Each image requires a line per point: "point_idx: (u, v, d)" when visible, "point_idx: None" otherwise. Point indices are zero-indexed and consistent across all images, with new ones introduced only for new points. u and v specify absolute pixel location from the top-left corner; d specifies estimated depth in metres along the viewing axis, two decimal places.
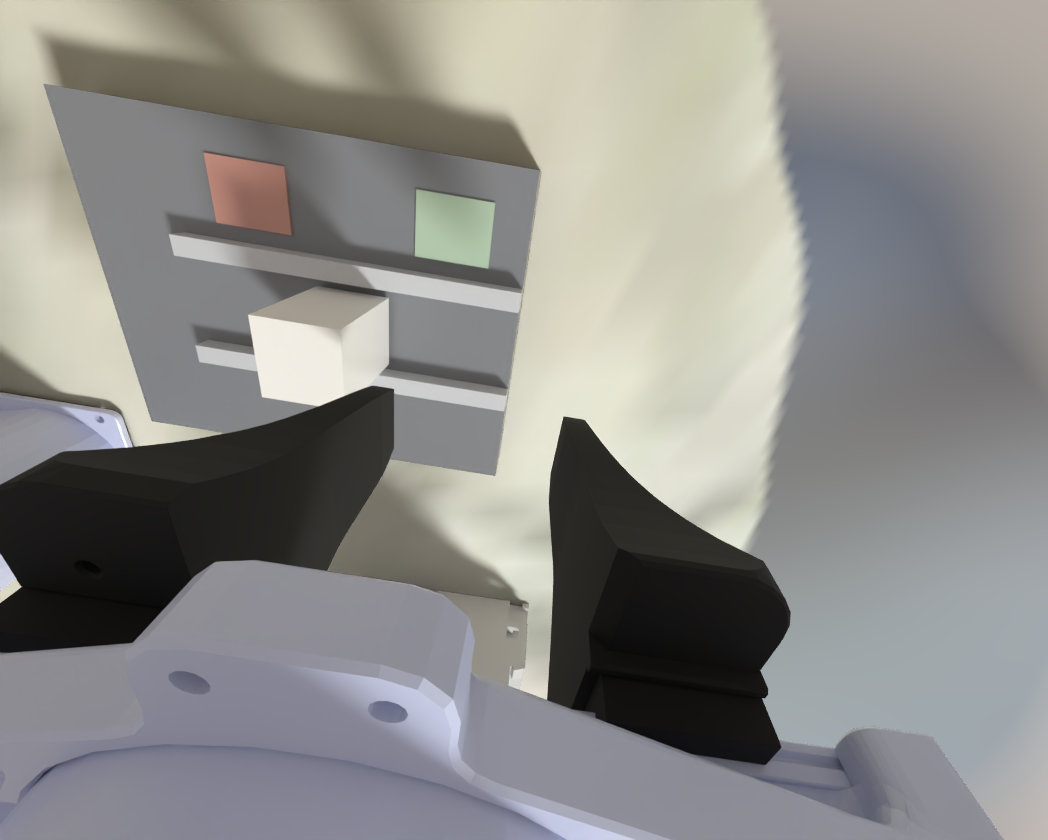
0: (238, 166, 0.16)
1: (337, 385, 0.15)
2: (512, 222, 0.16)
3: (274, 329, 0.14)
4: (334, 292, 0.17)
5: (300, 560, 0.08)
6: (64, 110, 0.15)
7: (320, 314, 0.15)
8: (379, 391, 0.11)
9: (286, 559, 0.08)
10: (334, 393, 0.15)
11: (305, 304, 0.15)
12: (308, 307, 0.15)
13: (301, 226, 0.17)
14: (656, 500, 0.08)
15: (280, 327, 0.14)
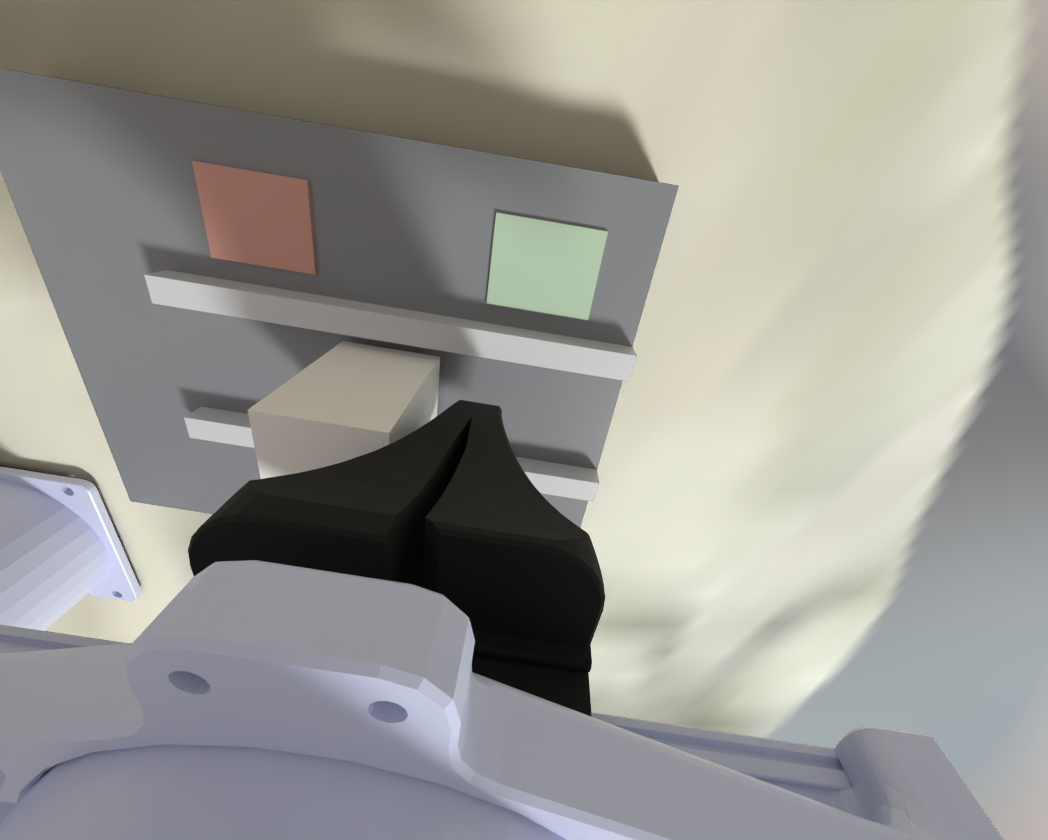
0: (242, 180, 0.11)
1: None
2: (628, 258, 0.12)
3: (287, 429, 0.09)
4: (367, 351, 0.12)
5: None
6: None
7: (354, 399, 0.10)
8: (471, 406, 0.11)
9: (420, 579, 0.08)
10: None
11: (330, 379, 0.11)
12: (335, 386, 0.10)
13: (329, 262, 0.12)
14: (525, 479, 0.08)
15: (297, 427, 0.09)
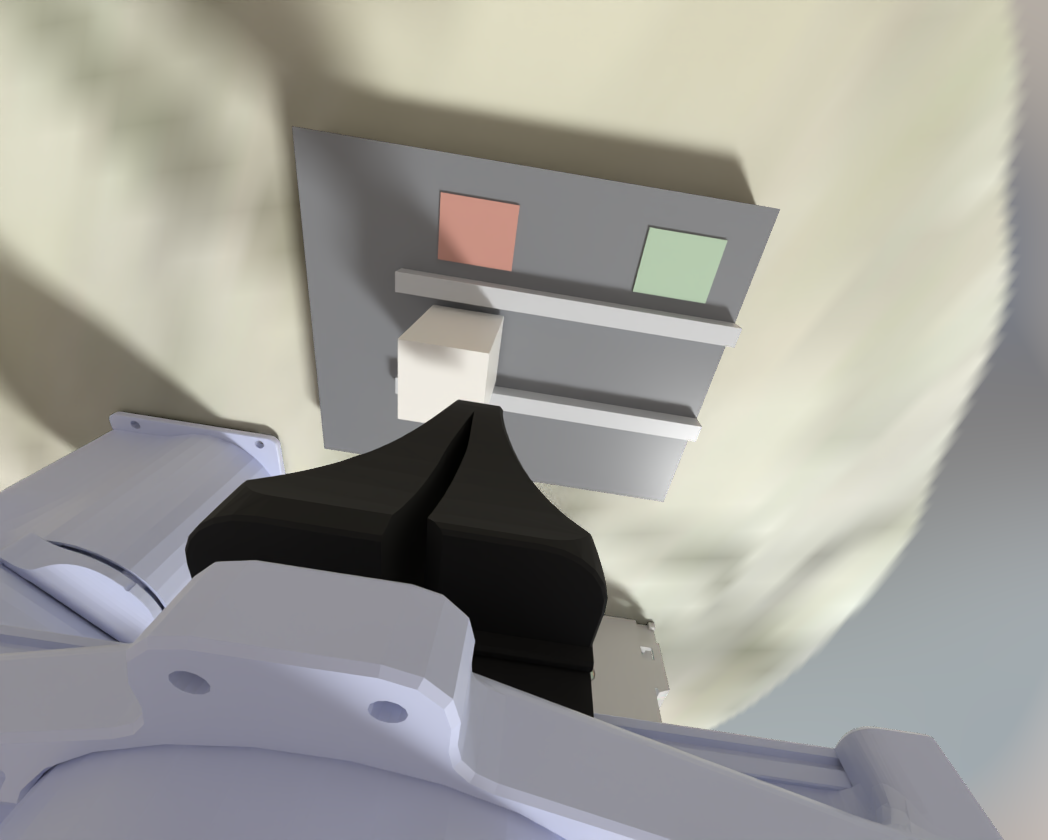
0: (472, 205, 0.16)
1: None
2: (739, 259, 0.16)
3: (422, 353, 0.14)
4: (453, 311, 0.17)
5: (423, 579, 0.08)
6: (307, 151, 0.16)
7: (459, 336, 0.15)
8: (469, 406, 0.11)
9: (418, 579, 0.08)
10: None
11: (438, 325, 0.15)
12: (443, 329, 0.15)
13: (522, 262, 0.17)
14: (527, 479, 0.08)
15: (428, 351, 0.14)
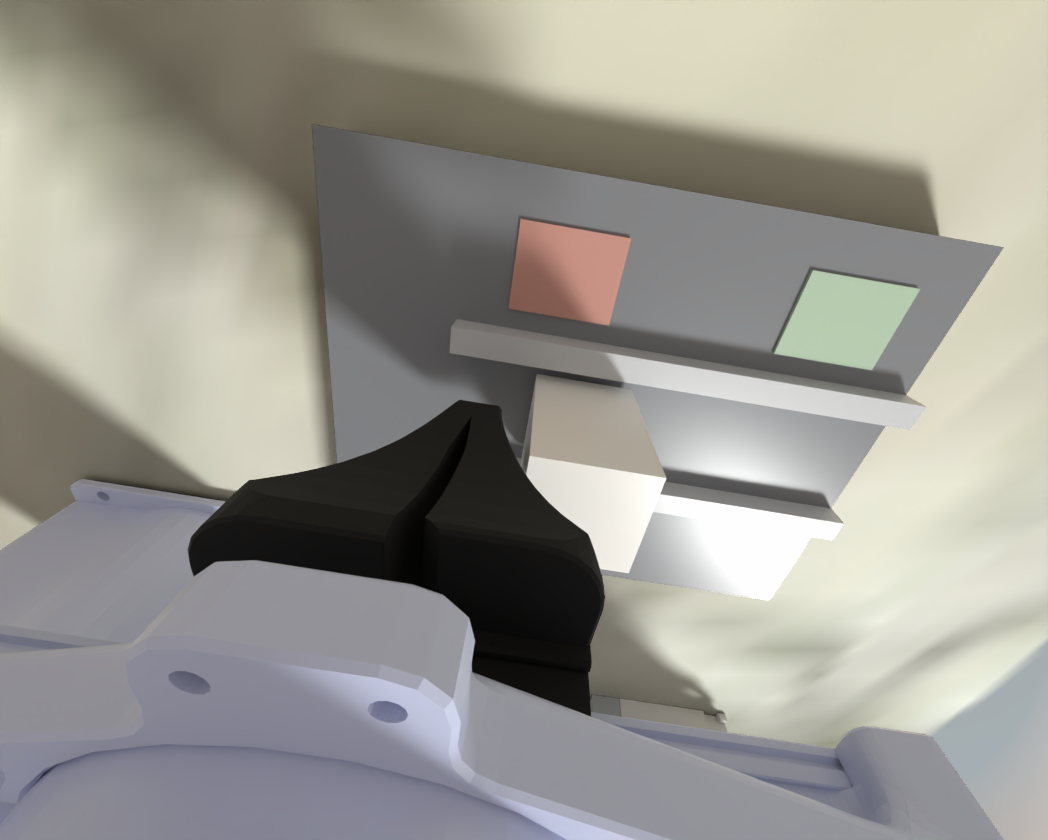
0: (563, 237, 0.11)
1: (630, 544, 0.10)
2: (930, 313, 0.12)
3: (563, 474, 0.09)
4: (567, 385, 0.13)
5: None
6: (332, 160, 0.11)
7: (605, 441, 0.10)
8: (471, 406, 0.11)
9: (420, 580, 0.08)
10: (621, 553, 0.10)
11: (565, 418, 0.11)
12: (576, 426, 0.11)
13: (625, 314, 0.12)
14: (525, 479, 0.08)
15: (573, 472, 0.09)
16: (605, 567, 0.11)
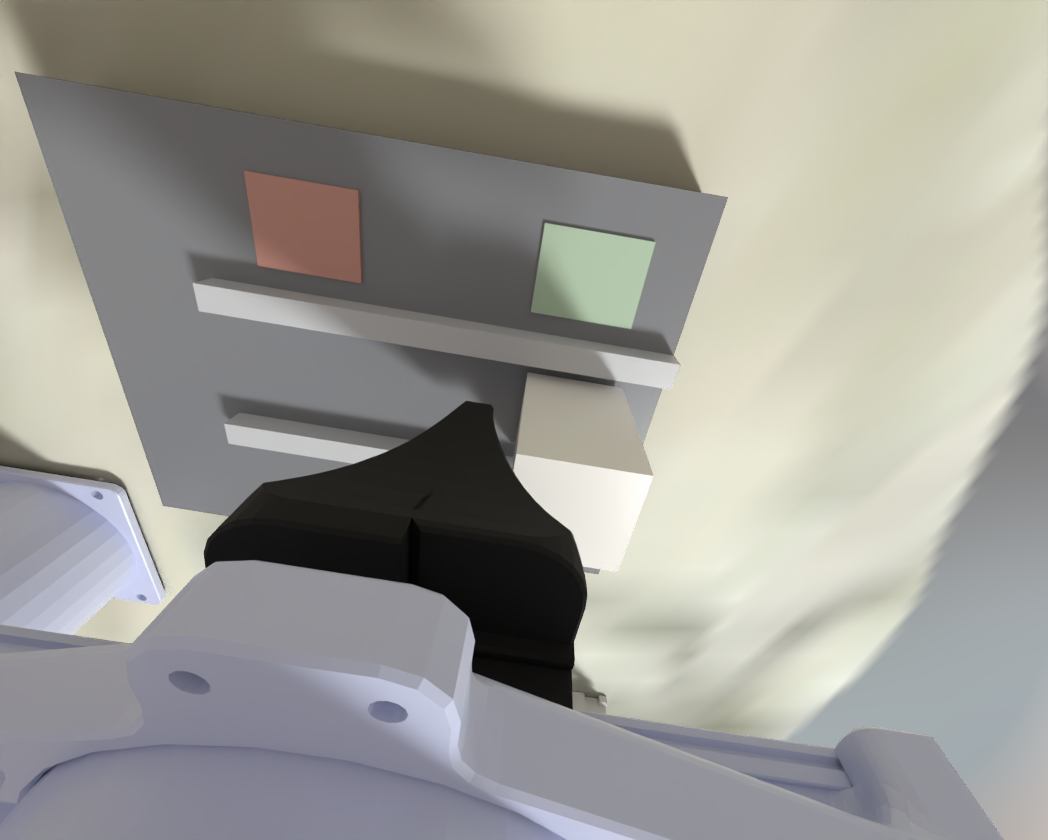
0: (292, 190, 0.11)
1: (619, 543, 0.10)
2: (674, 268, 0.12)
3: (550, 472, 0.09)
4: (558, 384, 0.13)
5: None
6: (45, 110, 0.11)
7: (593, 439, 0.10)
8: (478, 407, 0.11)
9: None
10: (610, 552, 0.10)
11: (554, 416, 0.11)
12: (565, 424, 0.10)
13: (375, 271, 0.12)
14: (512, 477, 0.08)
15: (560, 470, 0.09)
16: (595, 566, 0.11)
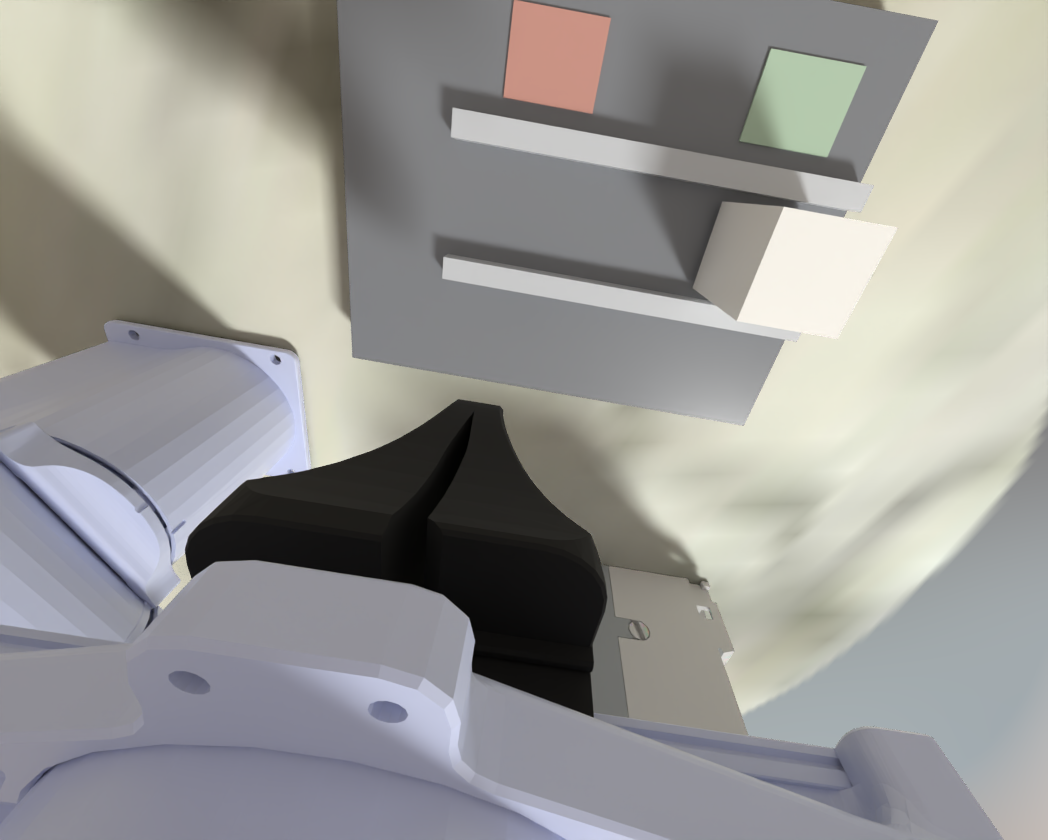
0: (551, 20, 0.13)
1: (847, 305, 0.12)
2: (877, 94, 0.13)
3: (808, 226, 0.11)
4: None
5: (423, 579, 0.08)
6: None
7: None
8: (469, 406, 0.11)
9: (418, 579, 0.08)
10: (837, 315, 0.12)
11: None
12: None
13: (606, 102, 0.14)
14: (527, 479, 0.08)
15: (817, 224, 0.11)
16: (817, 335, 0.12)
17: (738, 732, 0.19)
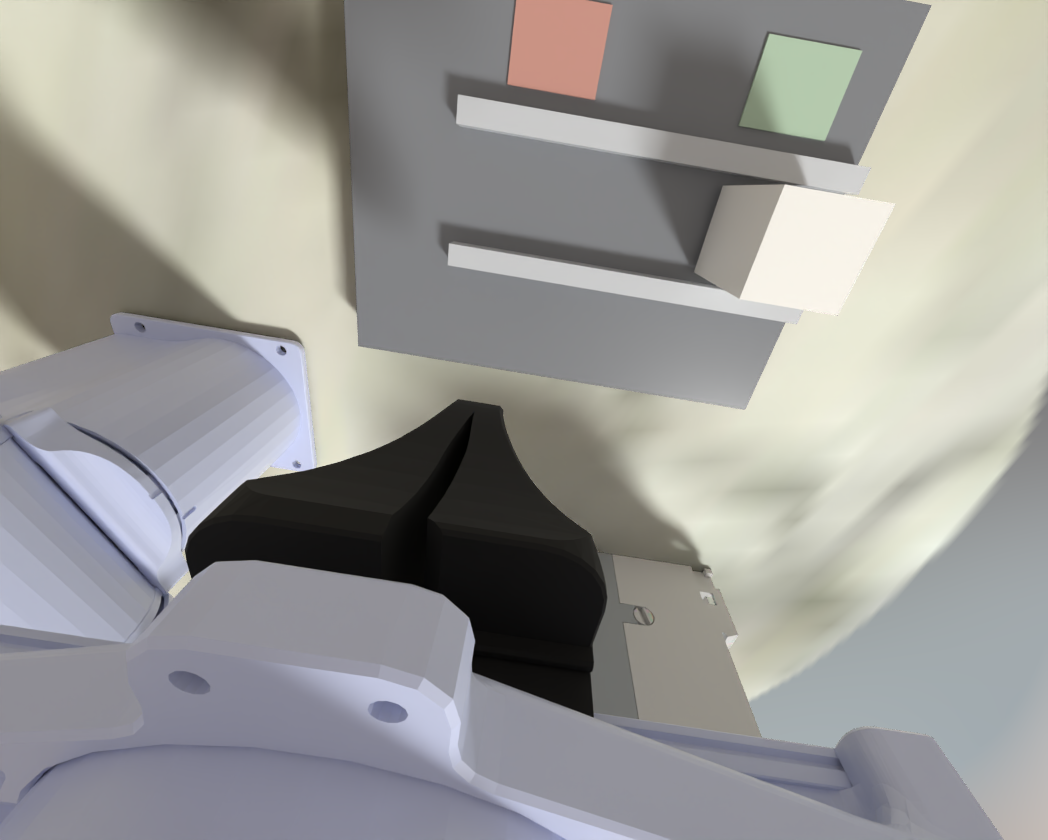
0: (554, 7, 0.13)
1: (847, 281, 0.12)
2: (872, 78, 0.14)
3: (808, 204, 0.11)
4: None
5: (423, 579, 0.08)
6: None
7: None
8: (469, 406, 0.11)
9: (418, 579, 0.08)
10: (837, 292, 0.12)
11: None
12: None
13: (609, 88, 0.14)
14: (527, 479, 0.08)
15: (817, 201, 0.11)
16: None
17: (743, 712, 0.20)
